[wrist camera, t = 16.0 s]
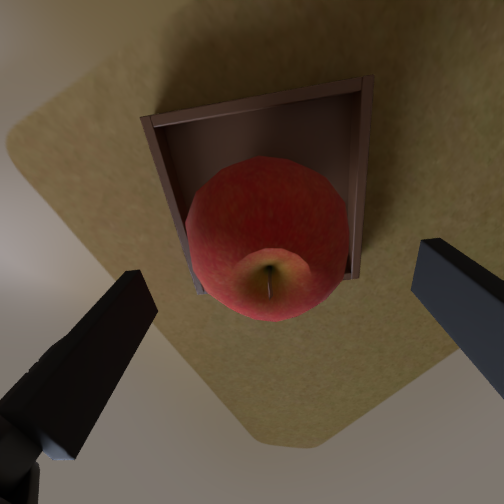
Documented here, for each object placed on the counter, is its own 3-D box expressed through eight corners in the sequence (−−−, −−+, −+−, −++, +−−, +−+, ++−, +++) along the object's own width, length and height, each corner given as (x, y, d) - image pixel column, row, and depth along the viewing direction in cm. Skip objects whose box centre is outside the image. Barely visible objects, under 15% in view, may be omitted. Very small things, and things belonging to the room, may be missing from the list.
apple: (188, 197, 22) (101, 290, 10) (271, 114, 19) (287, 104, 7) (261, 268, 26) (261, 399, 14) (342, 208, 22) (438, 314, 10)
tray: (361, 79, 18) (375, 73, 16) (351, 265, 26) (359, 278, 24) (152, 117, 20) (139, 117, 18) (202, 280, 28) (197, 294, 25)
